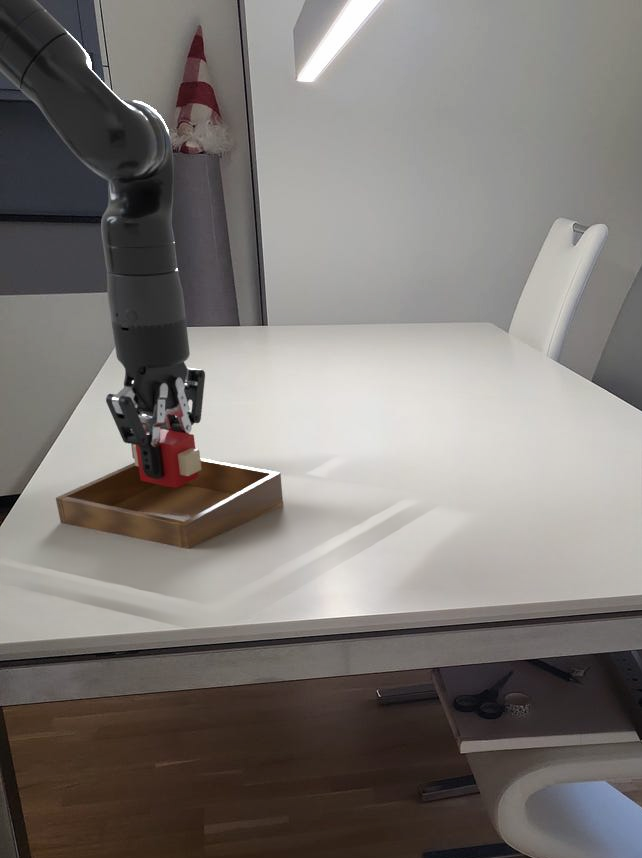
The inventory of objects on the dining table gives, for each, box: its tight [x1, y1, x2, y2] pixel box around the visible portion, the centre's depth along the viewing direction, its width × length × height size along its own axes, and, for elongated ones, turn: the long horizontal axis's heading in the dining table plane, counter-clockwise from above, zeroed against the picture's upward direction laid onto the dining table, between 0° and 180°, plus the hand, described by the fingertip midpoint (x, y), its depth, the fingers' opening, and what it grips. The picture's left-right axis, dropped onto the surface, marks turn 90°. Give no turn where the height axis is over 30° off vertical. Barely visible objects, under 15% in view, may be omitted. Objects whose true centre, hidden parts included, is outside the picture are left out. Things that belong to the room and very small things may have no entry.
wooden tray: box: [55, 457, 284, 550], centre depth 119 cm, size 18×18×4 cm
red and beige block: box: [133, 429, 201, 488], centre depth 117 cm, size 7×4×5 cm, turn 66°
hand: (168, 470), depth 117 cm, fingers closed on red and beige block, 4 cm apart
